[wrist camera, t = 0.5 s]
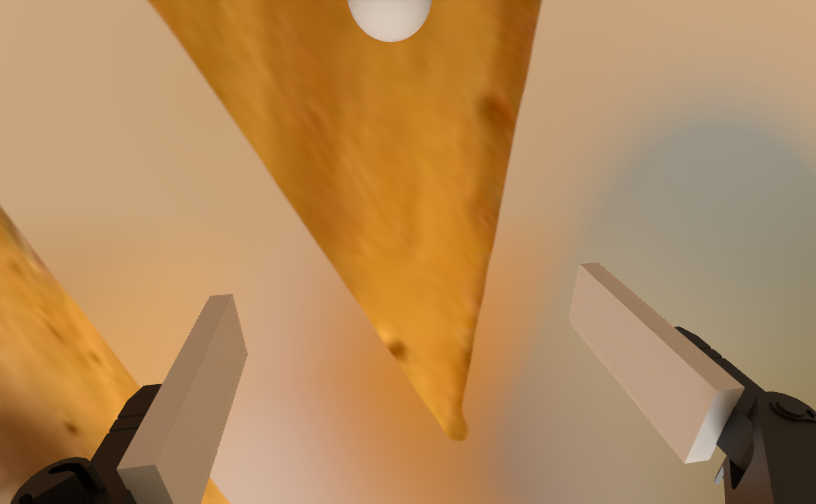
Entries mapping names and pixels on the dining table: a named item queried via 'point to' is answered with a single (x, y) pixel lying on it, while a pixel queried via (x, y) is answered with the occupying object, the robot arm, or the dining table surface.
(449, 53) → the dining table surface
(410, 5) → the light bulb
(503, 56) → the dining table surface
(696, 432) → the robot arm
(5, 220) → the dining table surface
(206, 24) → the dining table surface
